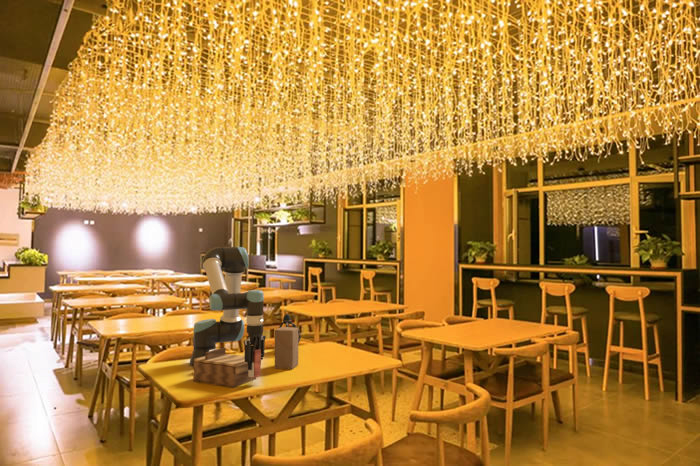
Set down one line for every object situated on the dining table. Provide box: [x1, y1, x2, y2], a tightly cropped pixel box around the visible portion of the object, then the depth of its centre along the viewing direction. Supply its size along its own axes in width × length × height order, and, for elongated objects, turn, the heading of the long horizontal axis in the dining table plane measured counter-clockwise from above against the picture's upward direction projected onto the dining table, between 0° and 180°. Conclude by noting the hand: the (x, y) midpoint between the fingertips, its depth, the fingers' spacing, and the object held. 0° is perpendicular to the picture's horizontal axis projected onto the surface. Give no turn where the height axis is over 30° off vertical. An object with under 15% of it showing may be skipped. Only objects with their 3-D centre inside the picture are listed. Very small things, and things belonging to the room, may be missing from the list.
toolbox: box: [192, 361, 257, 389], centre depth 215 cm, size 24×16×9 cm, turn 64°
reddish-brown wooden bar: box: [253, 349, 262, 379], centre depth 208 cm, size 4×4×12 cm
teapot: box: [274, 313, 302, 344], centre depth 281 cm, size 12×25×23 cm, turn 34°
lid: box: [194, 347, 248, 375], centre depth 215 cm, size 26×15×8 cm, turn 64°
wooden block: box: [274, 326, 299, 370], centre depth 241 cm, size 10×10×20 cm
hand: (254, 375), depth 208 cm, fingers closed on reddish-brown wooden bar, 4 cm apart
